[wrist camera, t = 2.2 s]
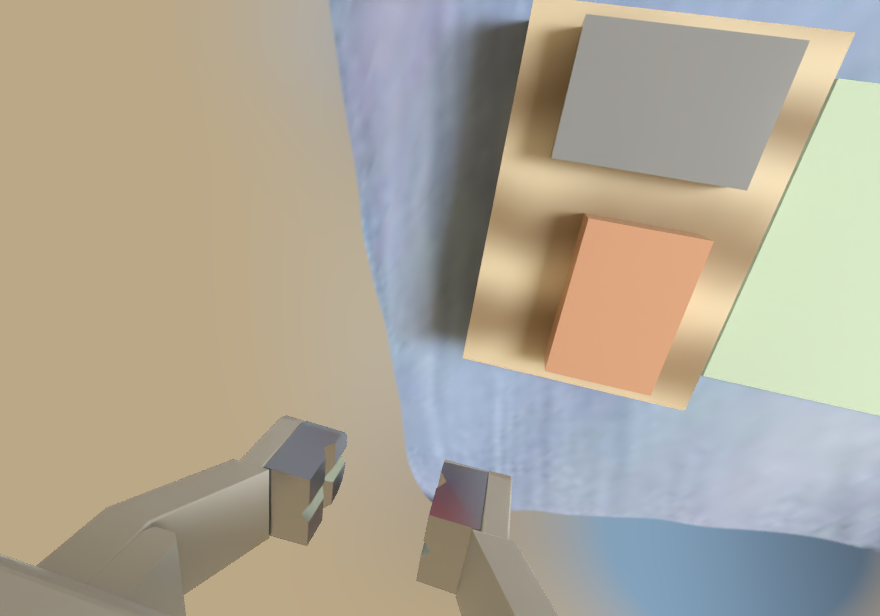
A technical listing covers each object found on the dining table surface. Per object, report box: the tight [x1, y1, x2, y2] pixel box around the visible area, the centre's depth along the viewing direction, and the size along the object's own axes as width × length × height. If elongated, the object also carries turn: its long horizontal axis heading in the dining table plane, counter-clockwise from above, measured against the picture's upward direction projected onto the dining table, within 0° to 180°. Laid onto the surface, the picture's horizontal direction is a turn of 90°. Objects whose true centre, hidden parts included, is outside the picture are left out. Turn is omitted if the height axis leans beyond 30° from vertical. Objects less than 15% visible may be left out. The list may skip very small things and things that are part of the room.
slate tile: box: [550, 14, 810, 191], centre depth 20 cm, size 9×6×2 cm, turn 81°
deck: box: [463, 0, 855, 411], centre depth 25 cm, size 20×14×4 cm
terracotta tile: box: [544, 213, 714, 396], centre depth 23 cm, size 9×6×2 cm, turn 171°
